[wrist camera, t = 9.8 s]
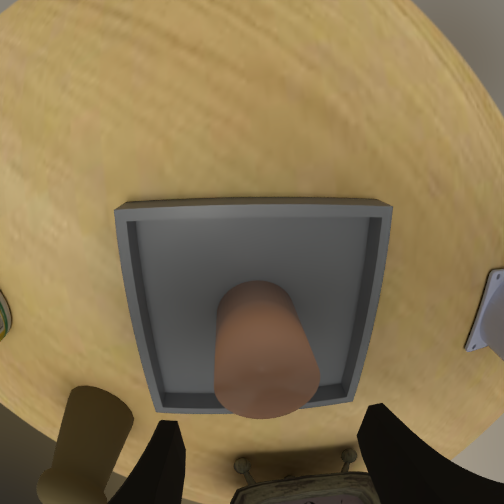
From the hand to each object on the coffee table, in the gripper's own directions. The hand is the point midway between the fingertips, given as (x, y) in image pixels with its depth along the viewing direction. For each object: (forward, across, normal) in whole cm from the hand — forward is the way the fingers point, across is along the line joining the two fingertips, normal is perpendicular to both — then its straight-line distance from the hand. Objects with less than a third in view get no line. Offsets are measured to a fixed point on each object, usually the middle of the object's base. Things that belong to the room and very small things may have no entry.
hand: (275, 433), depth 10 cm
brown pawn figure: (+9, +13, +10) cm, 19 cm away
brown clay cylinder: (+8, 0, 0) cm, 9 cm away
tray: (+9, 0, 0) cm, 9 cm away
